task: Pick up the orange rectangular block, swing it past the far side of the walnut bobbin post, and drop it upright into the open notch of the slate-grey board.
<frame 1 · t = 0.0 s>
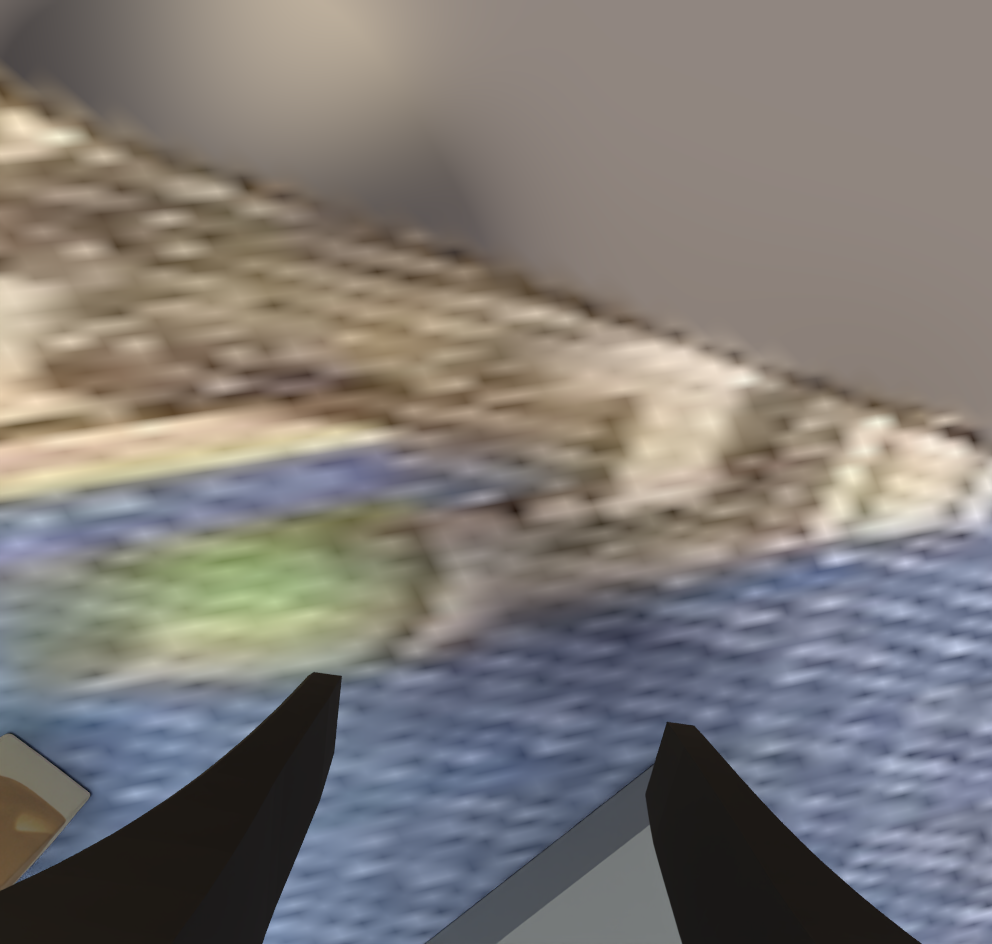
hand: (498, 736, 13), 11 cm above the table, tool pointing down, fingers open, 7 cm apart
skincare box: (13, 806, 25), on the table
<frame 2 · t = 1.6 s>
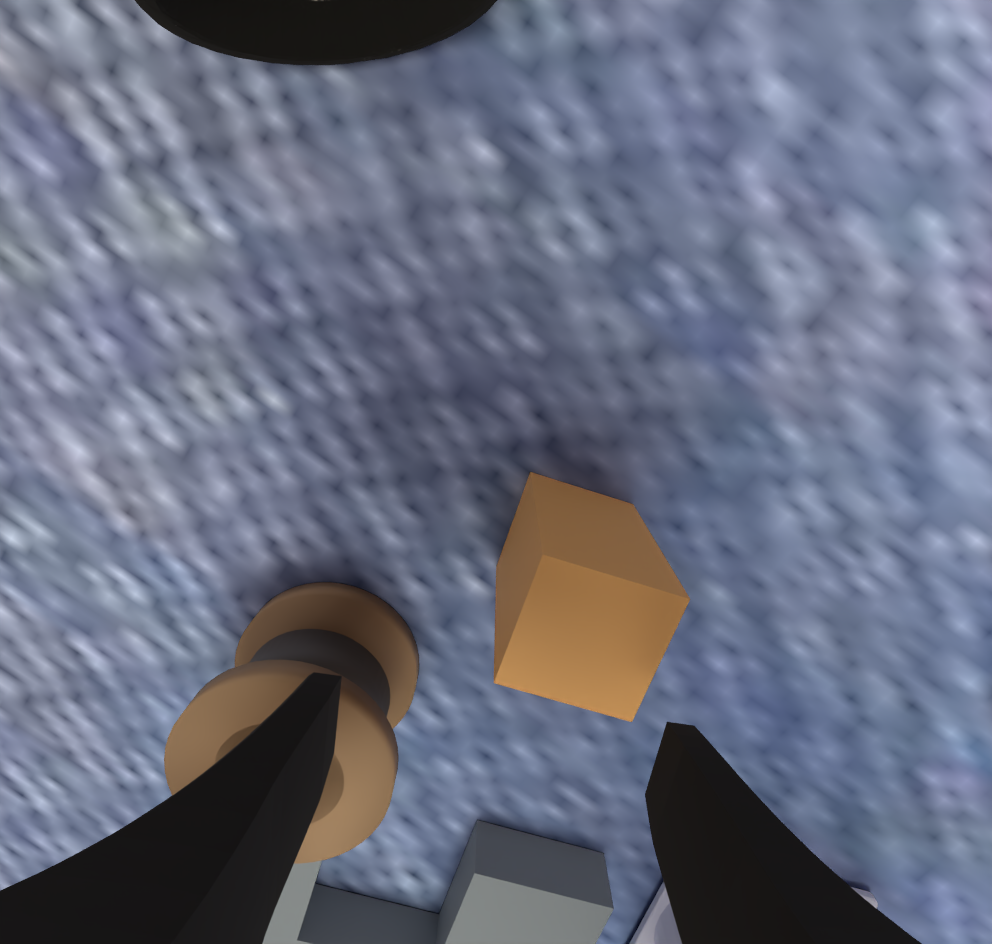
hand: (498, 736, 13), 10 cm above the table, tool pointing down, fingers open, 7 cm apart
notched board: (377, 899, 28), on the table
bobbin post: (332, 660, 24), on the table
orange rectangular block: (563, 536, 22), on the table
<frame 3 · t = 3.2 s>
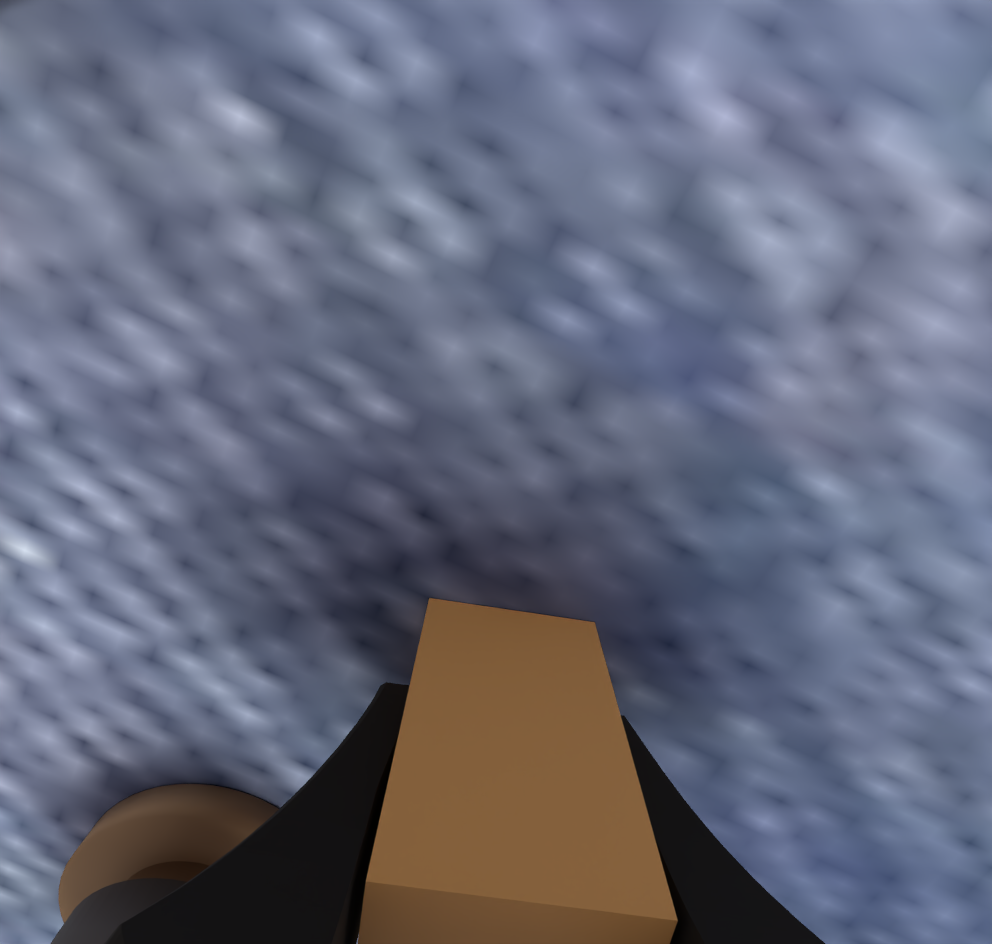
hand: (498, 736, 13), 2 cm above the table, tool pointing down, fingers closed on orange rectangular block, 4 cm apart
bobbin post: (209, 881, 17), on the table
orange rectangular block: (498, 680, 15), on the table, touching gripper
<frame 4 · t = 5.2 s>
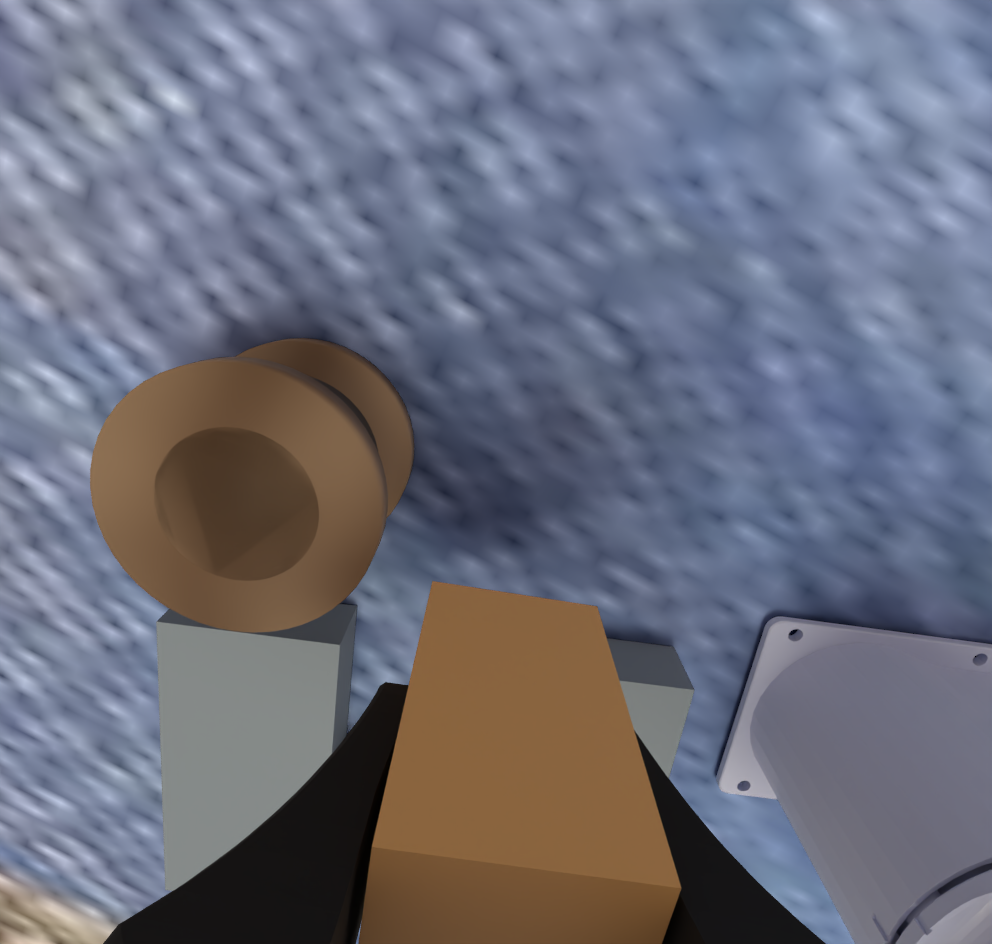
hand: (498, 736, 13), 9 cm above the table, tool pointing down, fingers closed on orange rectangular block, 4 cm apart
notched board: (420, 745, 24), on the table
bobbin post: (311, 443, 20), on the table
orange rectangular block: (501, 664, 15), point 7 cm above the table, touching gripper
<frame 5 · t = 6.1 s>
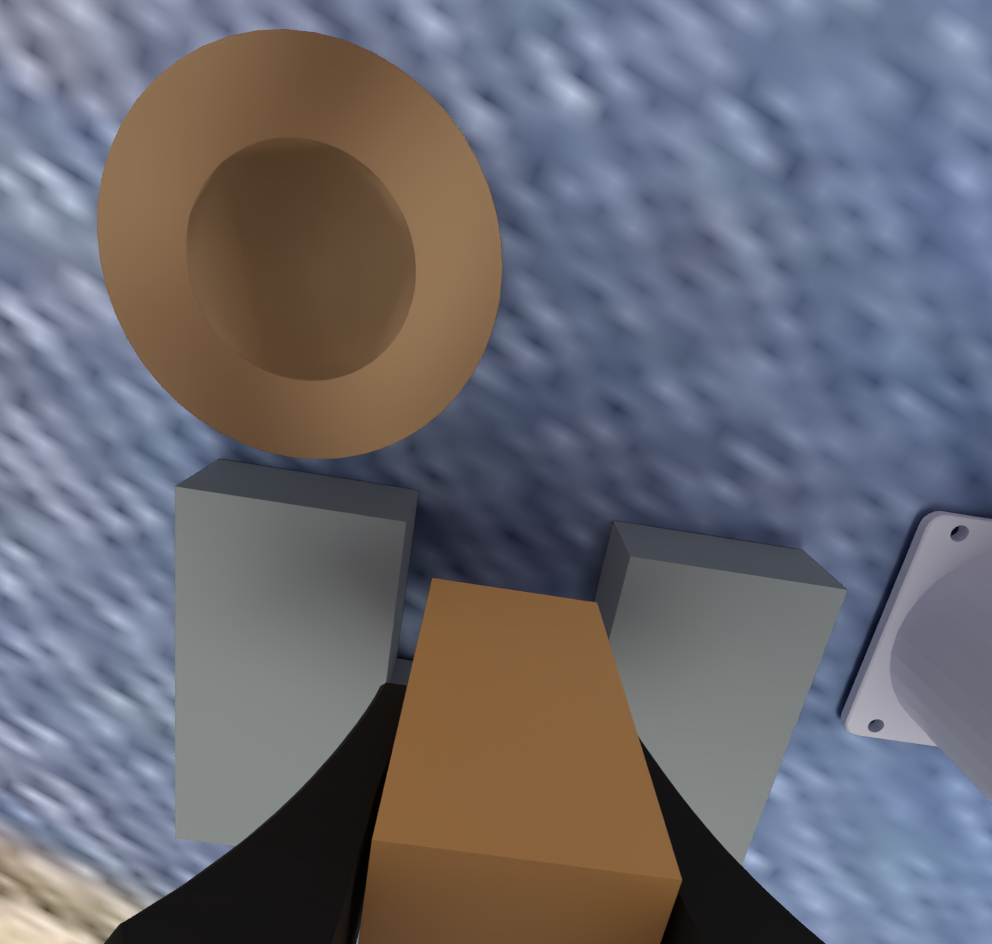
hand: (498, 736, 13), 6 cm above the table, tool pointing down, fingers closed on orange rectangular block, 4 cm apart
notched board: (486, 671, 20), on the table
bobbin post: (372, 271, 16), on the table
orange rectangular block: (501, 661, 15), point 4 cm above the table, touching gripper
when the fingers open (3 cm above the table, at t = 7.0 s): orange rectangular block drops 1 cm, on the table.
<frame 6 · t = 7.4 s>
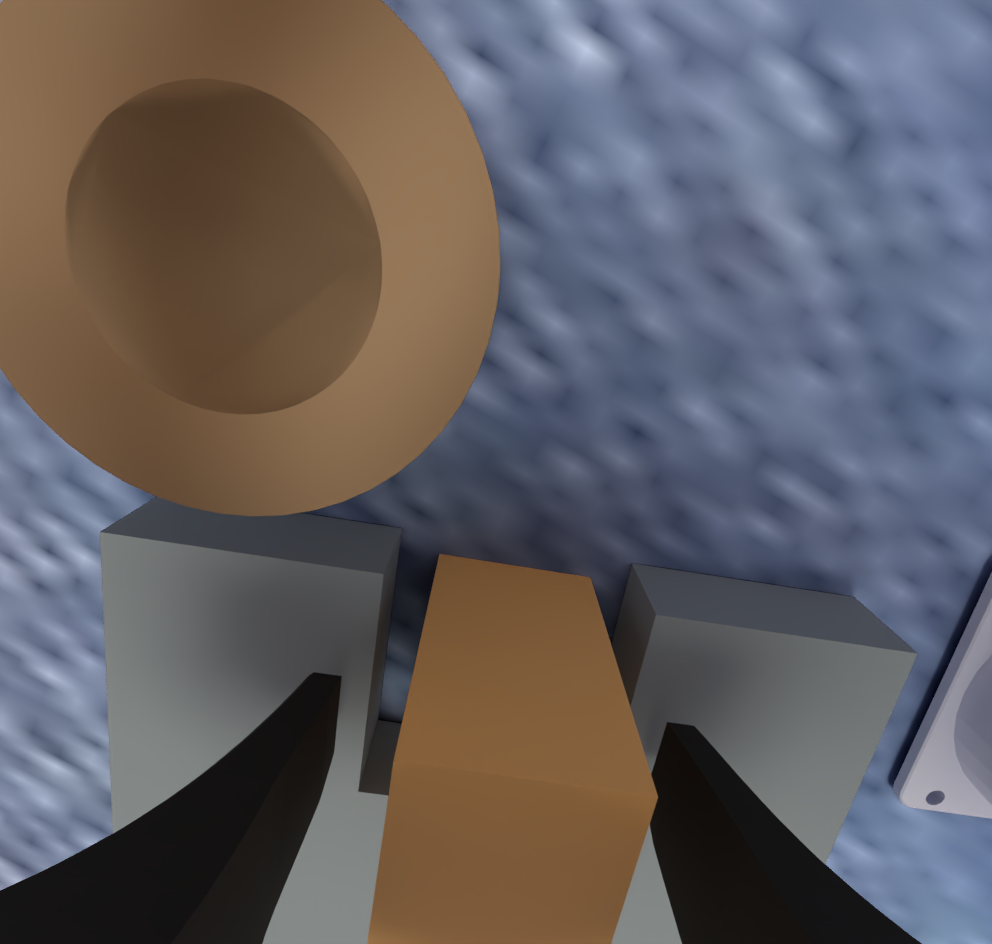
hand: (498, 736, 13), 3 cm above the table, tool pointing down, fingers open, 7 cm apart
notched board: (481, 734, 17), on the table
bobbin post: (343, 269, 13), on the table
orange rectangular block: (502, 631, 16), on the table
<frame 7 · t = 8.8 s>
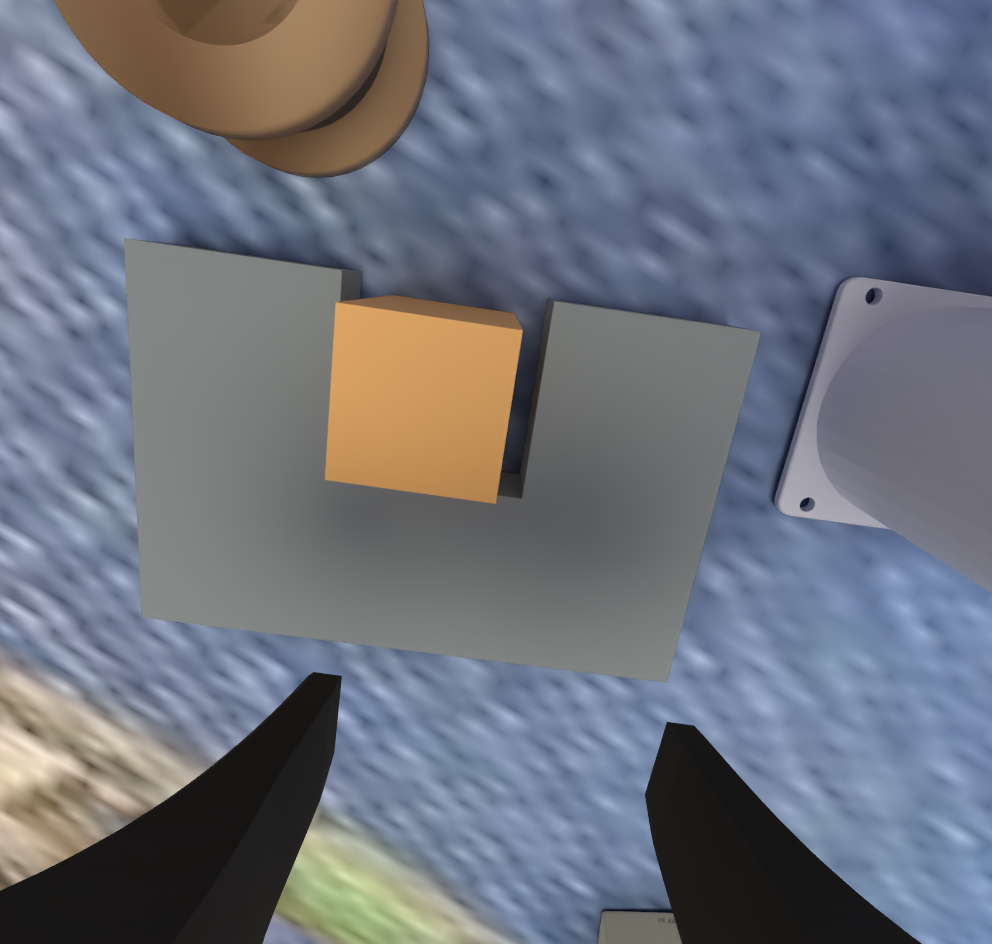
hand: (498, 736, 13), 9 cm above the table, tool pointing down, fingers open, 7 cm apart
notched board: (435, 462, 21), on the table
bobbin post: (307, 43, 17), on the table
orange rectangular block: (447, 365, 20), on the table
skincare box: (657, 937, 28), on the table
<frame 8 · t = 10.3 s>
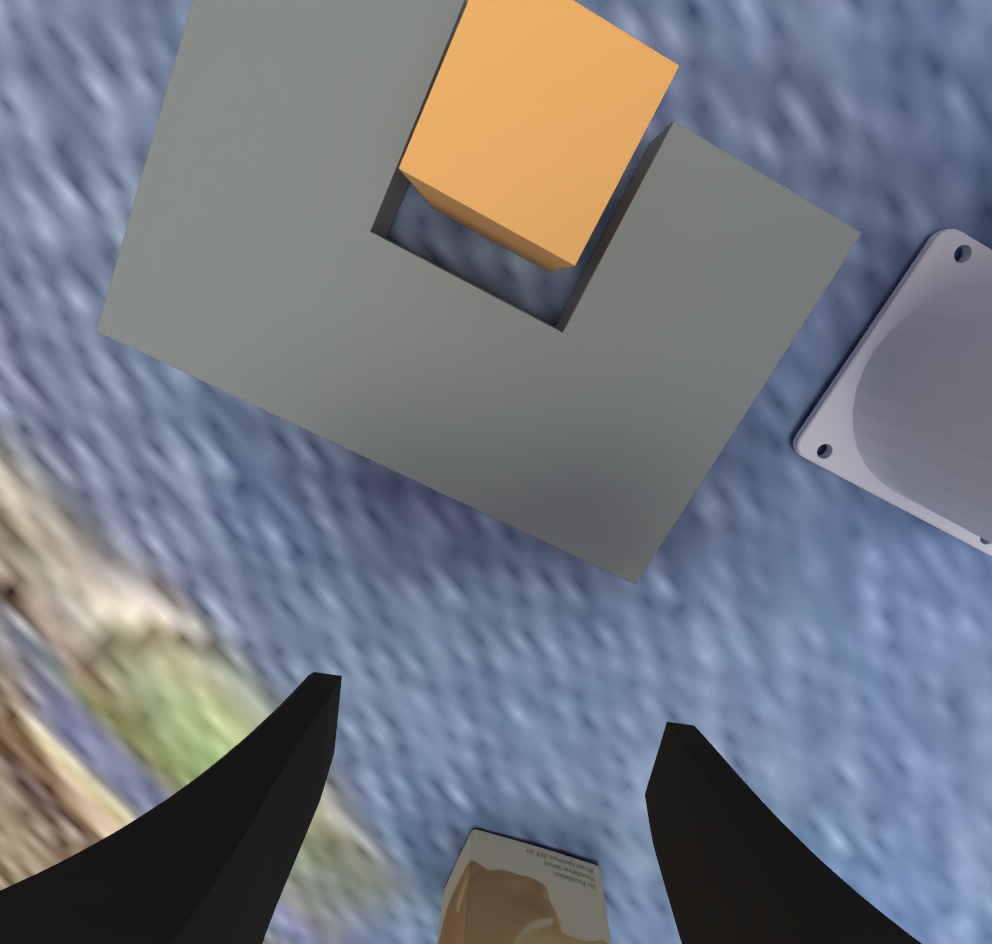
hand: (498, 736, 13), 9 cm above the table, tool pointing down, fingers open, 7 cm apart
notched board: (472, 283, 19), on the table
orange rectangular block: (522, 178, 18), on the table
skincare box: (517, 872, 27), on the table
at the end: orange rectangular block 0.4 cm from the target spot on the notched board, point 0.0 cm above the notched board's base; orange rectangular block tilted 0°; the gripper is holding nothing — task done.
